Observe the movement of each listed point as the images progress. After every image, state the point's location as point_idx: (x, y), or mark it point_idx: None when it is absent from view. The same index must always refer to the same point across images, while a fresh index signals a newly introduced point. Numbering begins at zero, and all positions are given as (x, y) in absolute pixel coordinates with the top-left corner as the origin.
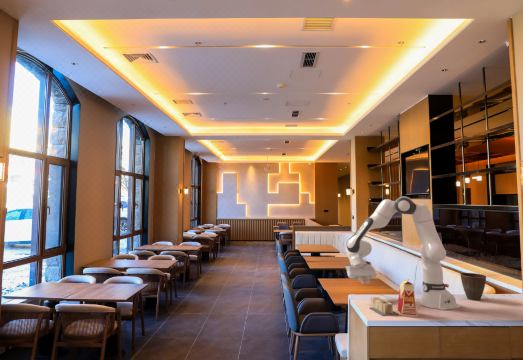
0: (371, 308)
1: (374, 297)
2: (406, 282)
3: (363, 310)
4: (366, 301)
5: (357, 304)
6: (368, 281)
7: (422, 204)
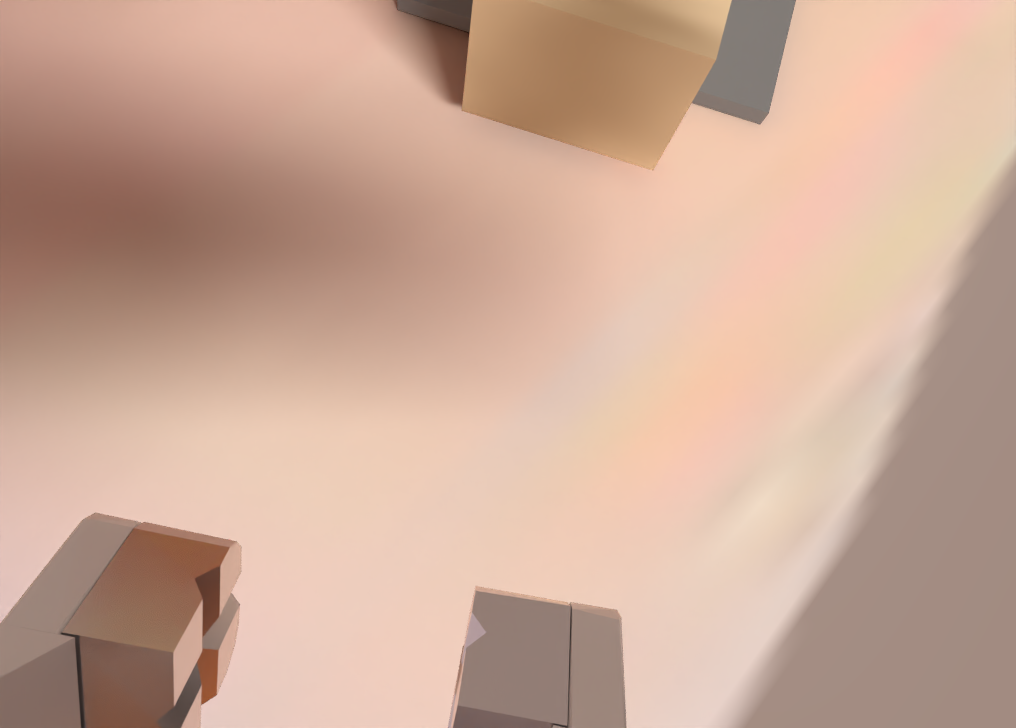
0: (781, 42)
1: (604, 23)
2: None
3: (972, 92)
4: (367, 601)
5: (800, 488)
6: (144, 569)
7: None
